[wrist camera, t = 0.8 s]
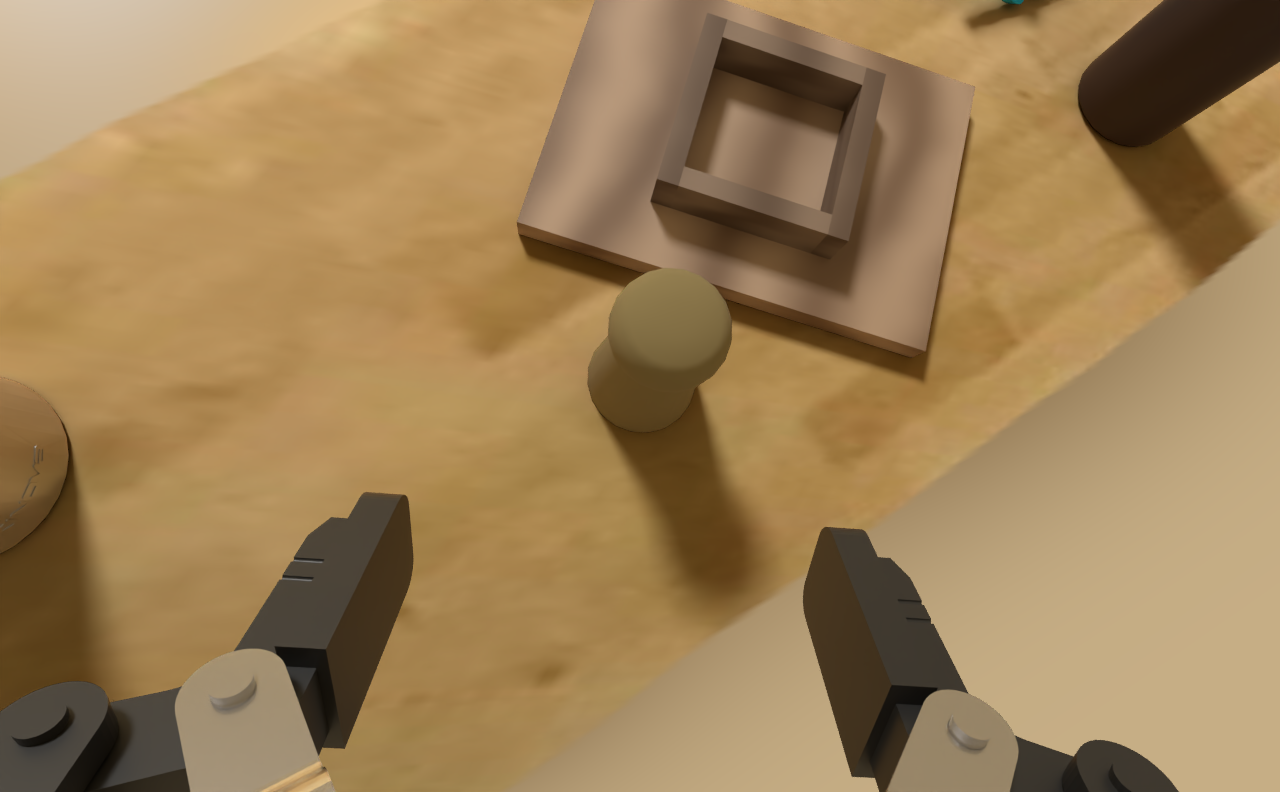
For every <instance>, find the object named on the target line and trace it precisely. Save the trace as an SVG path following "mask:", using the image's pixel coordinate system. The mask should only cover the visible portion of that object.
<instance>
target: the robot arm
mask: <svg viewBox="0 0 1280 792" xmlns="http://www.w3.org/2000/svg"><path fill="white" fill-rule="evenodd" d="M68 458H69V454H68V445H67V437H66V434H65V431H64V429H63V426H62V423H61V421H60V419H59V417H58V416H57V414H56V413H55V411H54V410H53V409H52V407H51V406H50V404H49V403H48V402H47V401H45V400H44V399H43V398H42V397H41V396H40V395H38V394H37V393H36V392H35V391H34V390H32V389H30V388H28V387H26V386H24V385H22V384H20V383H18V382H16V381H12V380H9V379H5V378H2V377H0V553H2V552H4V551H6V550H8V549H10V548H12V547H13V546H15V545H16V544H17V543H19V542H20V541H21V540H22V539H24V538H25V537H26V536H28V535H29V534H30V533H32V532H33V531H34V529H35V528H36V527H37V526H38V525H39V524H40V523H41V522H42V521H43V519H44V518H45V517H46V516H47V515H48V513H49V512H50V510H51V508H52V507H53V505H54V504H55V502H56V500H57V499H58V497H59V495H60V492H61V489H62V486H63V484H64V481H65V478H66V474H67V466H68ZM412 570H413V546H412V535H411V523H410V512H409V502H408V498H407V496H406V495H398V494H384V493H371V492H365V493H363V494H362V495H361V497H360V498H359V500H358V502H357V504H356V505H355V507H354V509H353V511H352V512H351V514H350V516H349V517H348V519H347V518H333V517H331V518H330V519H329V520H327V521H326V522H325V523H323V524H322V525H321V526H319V527H318V528H317V529H316V530H314V531H313V532H312V533H310V534H309V535H308V536H307V538H306V539H305V541H304V542H303V544H302V545H301V547H300V549H299V550H298V552H297V553H296V555H295V556H294V561H293V562H291V563H290V564H289V566H288V567H287V569H286V571H285V572H284V574H283V577H282V580H279V582H278V583H277V585H276V586H275V588H274V589H273V591H272V593H271V594H270V596H269V597H268V599H267V600H266V602H265V604H264V605H263V607H262V608H261V610H260V611H259V613H258V615H257V616H256V618H255V619H254V621H253V622H252V624H251V626H250V627H249V629H248V630H247V632H246V633H245V635H244V637H243V638H242V640H241V641H240V643H239V644H238V646H237V647H236V649H235V650H234V651H233V652H230V653H227V654H224V655H221V656H219V657H217V658H215V659H213V660H211V661H210V662H208V663H206V664H205V665H203V666H202V667H201V668H199V669H198V670H197V671H196V672H194V673H193V674H192V675H191V676H190V677H189V678H188V680H187V681H186V682H185V683H184V684H183V686H181V687H179V688H175V689H172V690H168V691H163V692H159V693H154V694H149V695H144V696H139V697H135V698H130V699H125V700H120V701H115V702H111V703H110V702H109V700H108V697H107V695H106V693H105V691H104V690H103V689H101V688H100V687H99V686H97V685H95V684H92V683H89V682H81V681H73V682H64V683H58V684H54V685H51V686H47V687H44V688H42V689H39V690H37V691H34V692H32V693H30V694H28V695H26V696H24V697H22V698H20V699H19V700H17V701H15V702H13V703H12V704H10V705H9V706H8V707H6V708H5V709H3V710H2V711H1V712H0V792H335V789H334V787H333V784H332V781H331V779H330V776H329V774H328V772H327V770H326V768H325V767H322V764H321V762H320V759H319V757H318V756H319V754H320V752H321V749H322V747H323V748H343V749H345V747H346V744H347V742H348V739H349V737H350V734H351V731H352V729H353V726H354V724H355V721H356V719H357V716H358V714H359V711H360V709H361V706H362V704H363V701H364V699H365V696H366V694H367V691H368V689H369V686H370V684H371V681H372V679H373V676H374V674H375V671H376V669H377V666H378V664H379V661H380V659H381V656H382V654H383V651H384V649H385V646H386V643H387V641H388V638H389V636H390V633H391V631H392V628H393V626H394V623H395V621H396V618H397V616H398V613H399V611H400V608H401V606H402V603H403V601H404V598H405V596H406V593H407V591H408V588H409V585H410V581H411V576H412ZM921 602H922V601H921V599H920V596H919V594H918V593H917V590H916V588H915V587H914V585H913V582H912V581H911V579H910V577H908V575H907V574H906V573H904V572H903V571H902V569H901V568H899V567H898V565H897V564H895V562H893V561H892V560H891V558H881V557H877V554H876V552H875V550H874V548H873V546H872V544H871V542H870V539H869V537H868V535H867V533H866V532H865V531H864V530H860V529H847V528H833V527H824V528H823V529H822V530H821V532H820V535H819V538H818V541H817V545H816V548H815V551H814V555H813V558H812V561H811V564H810V568H809V571H808V574H807V578H806V581H805V585H804V592H803V606H804V614H805V618H806V622H807V625H808V628H809V632H810V635H811V639H812V642H813V645H814V649H815V652H816V656H817V659H818V663H819V666H820V669H821V673H822V676H823V680H824V683H825V686H826V690H827V693H828V697H829V700H830V703H831V707H832V710H833V714H834V717H835V721H836V724H837V727H838V731H839V734H840V738H841V741H842V744H843V748H844V751H845V755H846V758H847V762H848V765H849V768H850V772H851V775H852V777H869V778H875V779H876V782H877V786H878V789H879V792H1178V790H1177V789H1176V788H1175V786H1174V785H1173V783H1172V782H1171V781H1170V780H1169V779H1168V778H1167V777H1166V775H1165V774H1164V773H1163V772H1162V771H1161V770H1159V769H1158V768H1157V767H1156V766H1155V765H1154V764H1152V763H1151V762H1150V761H1149V760H1147V759H1146V758H1144V757H1143V756H1141V755H1140V754H1138V753H1137V752H1135V751H1133V750H1131V749H1129V748H1127V747H1125V746H1122V745H1120V744H1117V743H1113V742H1110V741H1105V740H1093V741H1089V742H1087V743H1084V744H1083V745H1082V746H1081V747H1080V748H1079V750H1078V751H1077V753H1076V754H1075V756H1074V757H1073V756H1070V755H1067V754H1064V753H1062V752H1059V751H1056V750H1052V749H1050V748H1047V747H1044V746H1041V745H1038V744H1035V743H1032V742H1030V741H1026V740H1024V739H1021V738H1019V737H1017V736H1015V735H1014V733H1013V732H1012V729H1011V728H1010V726H1009V725H1008V724H1007V722H1006V721H1005V720H1004V719H1003V717H1002V716H1001V715H1000V714H999V713H998V712H997V711H996V710H994V709H993V708H992V707H991V706H989V705H988V704H986V703H985V702H983V701H982V700H980V699H978V698H977V697H974V696H972V695H970V694H968V692H967V690H966V688H965V686H964V684H963V682H962V680H961V678H960V676H959V674H958V672H957V670H956V668H955V666H954V664H953V662H952V660H951V658H950V656H949V654H948V652H947V650H946V648H945V646H944V644H943V642H942V640H941V638H940V636H939V634H938V632H937V630H936V628H935V626H934V624H931V618H930V616H929V614H928V612H927V610H926V608H925V606H924V605H922V604H921Z"/></svg>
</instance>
